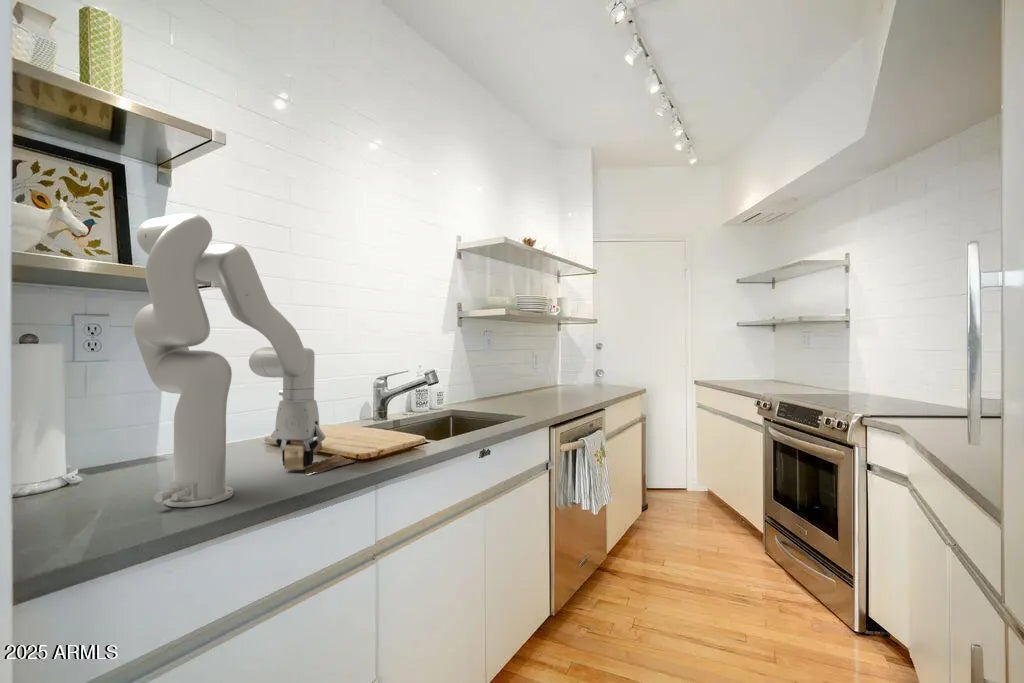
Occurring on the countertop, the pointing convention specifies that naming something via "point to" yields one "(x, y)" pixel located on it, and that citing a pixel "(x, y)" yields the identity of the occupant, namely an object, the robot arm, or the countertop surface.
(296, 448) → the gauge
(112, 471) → the countertop surface
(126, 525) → the countertop surface
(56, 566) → the countertop surface
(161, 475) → the countertop surface
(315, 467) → the wooden fragment
